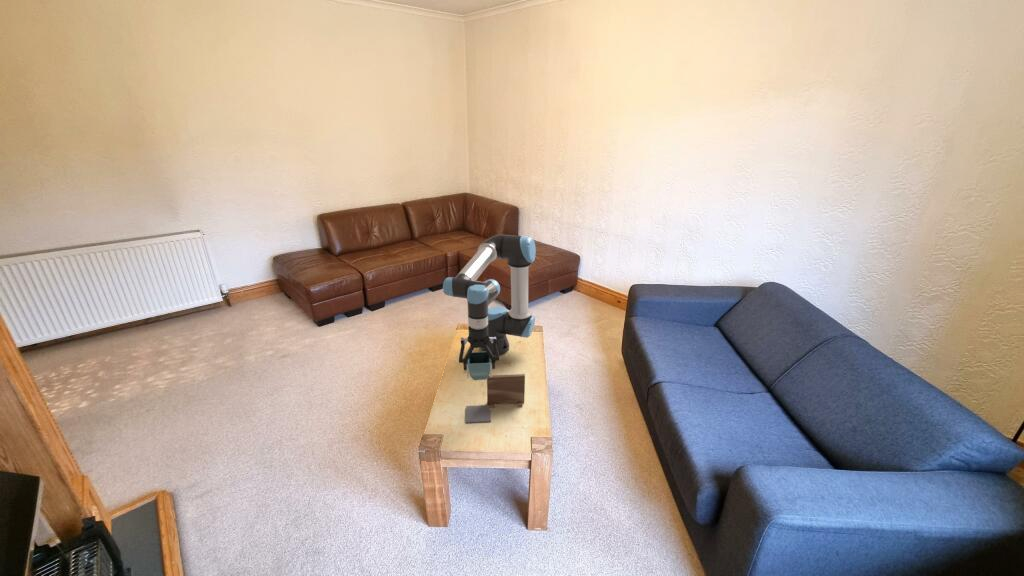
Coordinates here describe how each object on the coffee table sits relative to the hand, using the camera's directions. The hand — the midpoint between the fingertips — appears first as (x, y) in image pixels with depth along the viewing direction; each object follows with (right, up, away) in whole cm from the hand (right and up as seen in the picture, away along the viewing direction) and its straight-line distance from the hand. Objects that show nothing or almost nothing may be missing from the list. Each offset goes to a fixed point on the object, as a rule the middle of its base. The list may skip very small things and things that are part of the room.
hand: (479, 375), depth 158 cm
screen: (+10, -15, +14) cm, 23 cm away
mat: (-1, -18, +7) cm, 19 cm away
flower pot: (0, -1, 0) cm, 1 cm away
